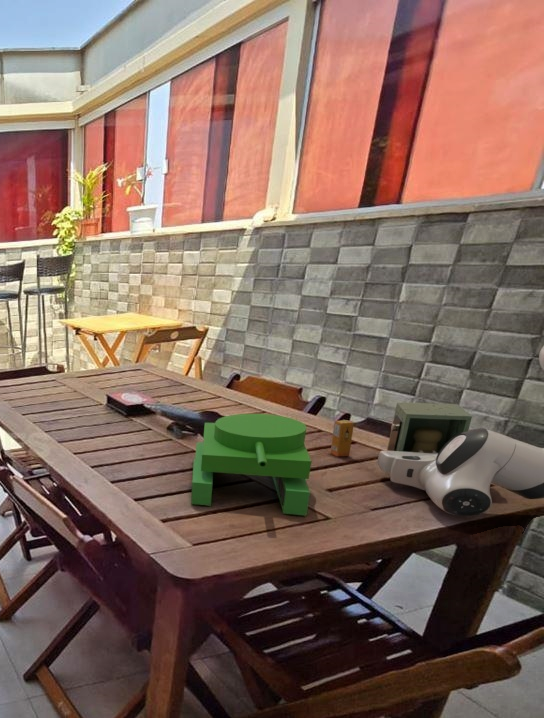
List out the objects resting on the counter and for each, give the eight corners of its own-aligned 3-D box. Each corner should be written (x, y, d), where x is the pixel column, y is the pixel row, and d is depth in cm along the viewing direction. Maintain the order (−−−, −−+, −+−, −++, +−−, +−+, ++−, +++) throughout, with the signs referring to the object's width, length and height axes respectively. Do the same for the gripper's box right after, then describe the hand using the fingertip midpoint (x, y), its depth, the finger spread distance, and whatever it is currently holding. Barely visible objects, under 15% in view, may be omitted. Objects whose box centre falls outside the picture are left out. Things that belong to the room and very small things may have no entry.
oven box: (443, 461, 129) (457, 403, 124) (456, 477, 121) (472, 416, 116) (380, 457, 136) (391, 402, 131) (388, 471, 127) (400, 413, 122)
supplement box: (341, 452, 142) (347, 419, 138) (349, 456, 138) (355, 422, 135) (329, 452, 142) (334, 420, 139) (336, 457, 139) (342, 423, 136)
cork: (434, 466, 127) (444, 426, 124) (436, 474, 123) (447, 433, 119) (403, 463, 131) (412, 424, 127) (404, 471, 127) (413, 431, 123)
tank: (187, 514, 118) (191, 452, 113) (193, 461, 147) (196, 409, 141) (310, 528, 107) (322, 460, 101) (291, 468, 135) (299, 412, 130)
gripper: (511, 465, 106) (487, 444, 117) (387, 457, 117) (376, 438, 128) (503, 491, 109) (480, 468, 120) (382, 481, 119) (371, 460, 130)
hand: (425, 452), depth 124 cm, fingers closed, pressing on cork
